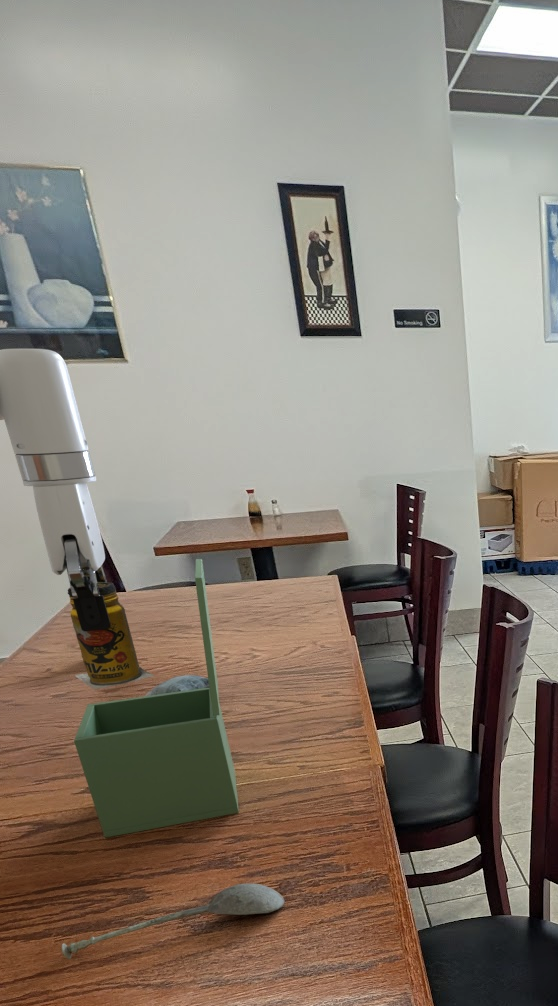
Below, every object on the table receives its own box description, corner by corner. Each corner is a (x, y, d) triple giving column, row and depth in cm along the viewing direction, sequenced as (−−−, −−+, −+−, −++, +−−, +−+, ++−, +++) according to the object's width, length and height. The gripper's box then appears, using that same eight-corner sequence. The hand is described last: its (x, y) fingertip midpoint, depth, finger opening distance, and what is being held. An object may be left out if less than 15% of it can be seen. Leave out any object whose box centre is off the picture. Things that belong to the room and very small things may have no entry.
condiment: (95, 691, 102) (68, 593, 96) (74, 676, 107) (47, 584, 102) (155, 677, 106) (132, 584, 101) (132, 664, 112) (109, 575, 106)
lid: (194, 577, 100) (202, 577, 100) (195, 558, 112) (202, 558, 112) (213, 715, 107) (219, 715, 107) (212, 683, 119) (217, 683, 120)
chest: (104, 838, 108) (73, 740, 102) (114, 793, 120) (87, 704, 114) (239, 813, 113) (217, 718, 107) (235, 772, 126) (215, 686, 120)
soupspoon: (290, 920, 91) (281, 894, 96) (285, 893, 89) (276, 868, 95) (63, 974, 82) (67, 942, 87) (54, 946, 80) (59, 915, 86)
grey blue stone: (141, 711, 152) (135, 686, 150) (185, 691, 162) (180, 667, 160) (180, 716, 150) (174, 690, 148) (222, 695, 160) (217, 670, 158)
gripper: (34, 467, 101) (76, 612, 109) (4, 477, 86) (55, 644, 94) (101, 463, 103) (138, 606, 111) (83, 473, 89) (127, 636, 97)
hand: (99, 622), depth 103 cm, fingers closed on condiment, 6 cm apart
